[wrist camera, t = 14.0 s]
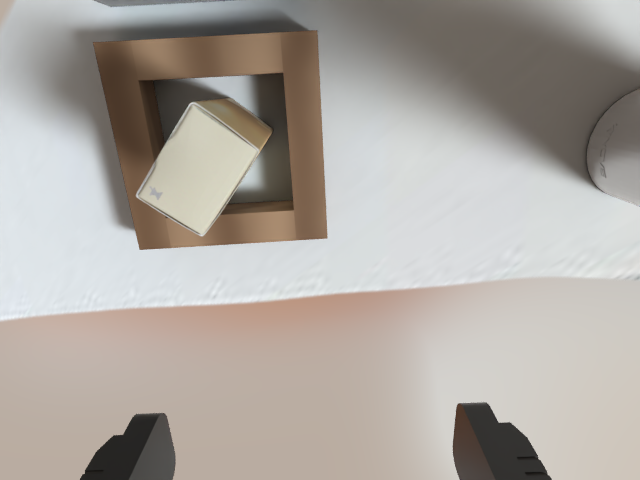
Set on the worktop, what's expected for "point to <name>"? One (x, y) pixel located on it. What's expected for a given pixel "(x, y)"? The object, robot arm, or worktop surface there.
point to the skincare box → (204, 162)
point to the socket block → (217, 61)
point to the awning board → (148, 2)
